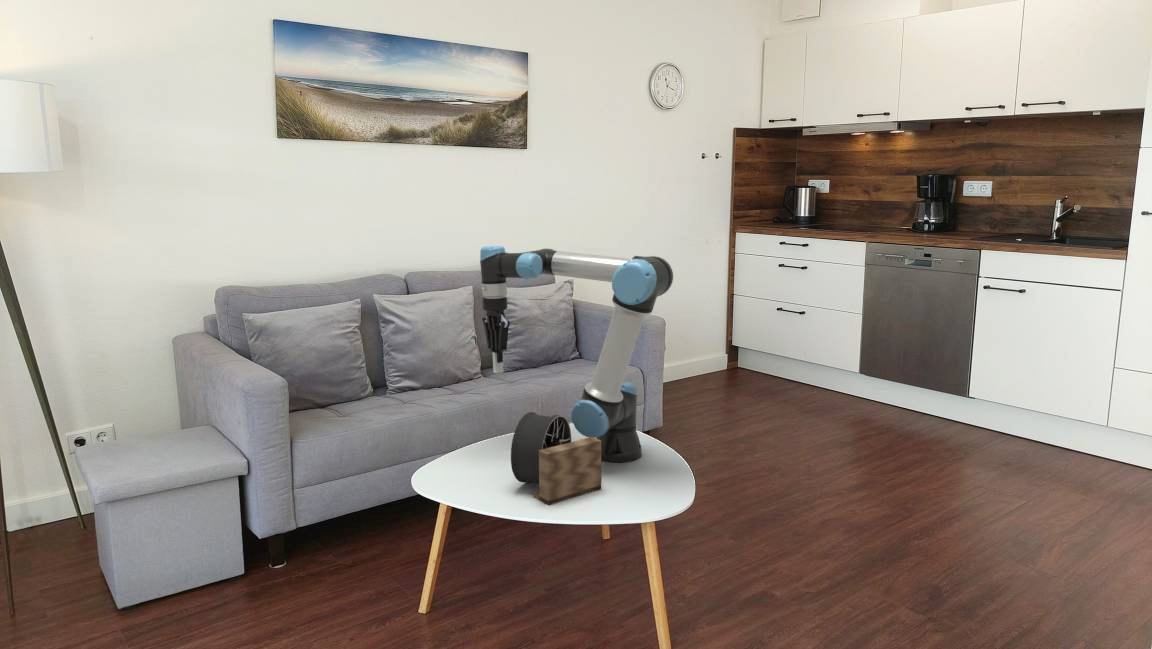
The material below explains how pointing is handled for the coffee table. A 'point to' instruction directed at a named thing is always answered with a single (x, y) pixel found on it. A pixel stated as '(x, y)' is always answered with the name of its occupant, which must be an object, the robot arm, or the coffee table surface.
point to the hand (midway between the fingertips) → (498, 372)
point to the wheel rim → (536, 442)
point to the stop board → (569, 470)
